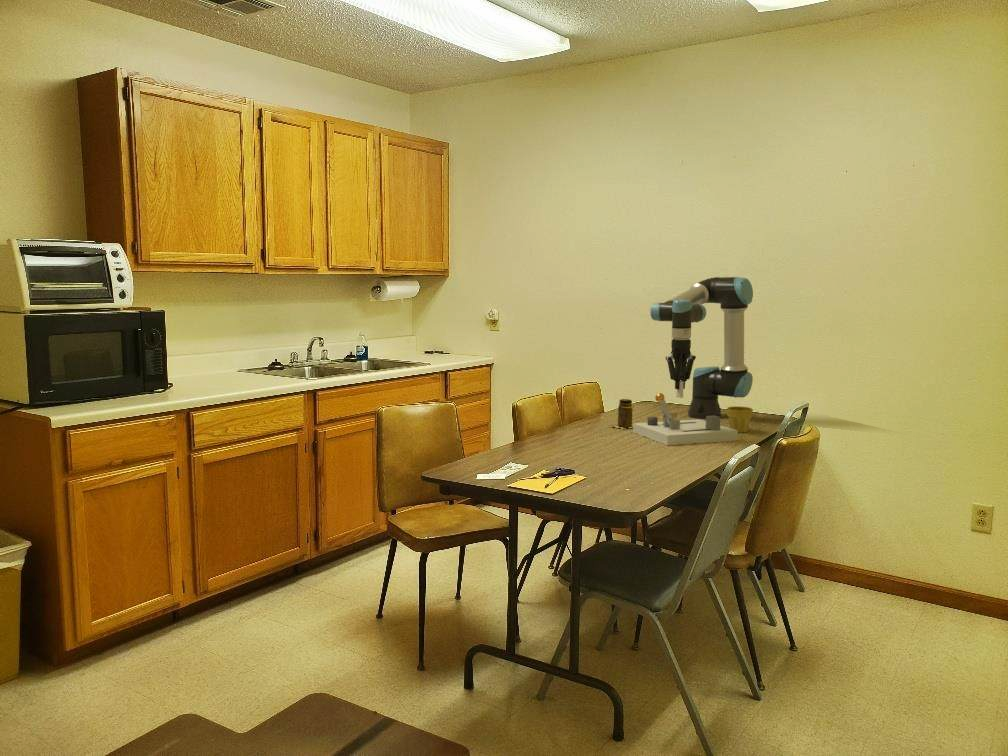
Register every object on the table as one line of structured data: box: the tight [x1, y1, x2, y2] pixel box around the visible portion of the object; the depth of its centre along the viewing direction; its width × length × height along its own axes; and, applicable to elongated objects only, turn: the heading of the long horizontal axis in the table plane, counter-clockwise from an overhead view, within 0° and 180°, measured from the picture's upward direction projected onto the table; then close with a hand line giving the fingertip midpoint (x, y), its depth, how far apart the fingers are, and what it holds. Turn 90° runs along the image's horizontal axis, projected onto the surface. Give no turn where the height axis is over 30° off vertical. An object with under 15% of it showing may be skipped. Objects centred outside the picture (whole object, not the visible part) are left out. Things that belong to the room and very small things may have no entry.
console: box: [632, 416, 738, 446], centre depth 313 cm, size 32×26×8 cm
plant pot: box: [726, 406, 754, 433], centre depth 326 cm, size 10×10×10 cm
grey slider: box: [705, 415, 722, 430], centre depth 308 cm, size 4×4×5 cm
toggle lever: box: [654, 392, 673, 425], centre depth 309 cm, size 4×4×14 cm
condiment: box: [617, 398, 634, 428], centre depth 331 cm, size 7×8×12 cm
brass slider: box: [662, 410, 678, 423], centre depth 318 cm, size 4×4×5 cm
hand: (679, 397), depth 311 cm, fingers closed
